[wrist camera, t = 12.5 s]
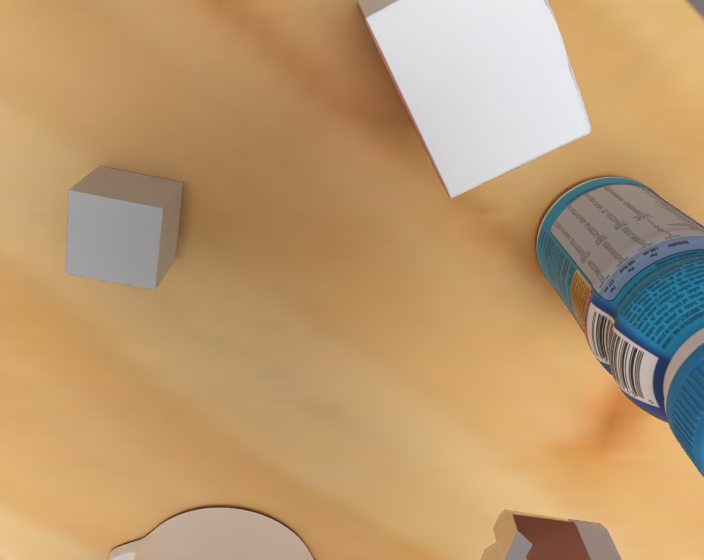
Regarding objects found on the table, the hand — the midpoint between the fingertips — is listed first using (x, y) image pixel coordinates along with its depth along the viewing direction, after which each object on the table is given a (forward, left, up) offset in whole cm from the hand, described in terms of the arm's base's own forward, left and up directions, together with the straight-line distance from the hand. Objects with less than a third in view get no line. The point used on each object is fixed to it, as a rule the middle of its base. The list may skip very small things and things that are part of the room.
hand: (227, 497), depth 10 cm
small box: (+5, -6, -31) cm, 32 cm away
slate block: (-9, +9, -31) cm, 34 cm away
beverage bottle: (-4, -19, -31) cm, 37 cm away
